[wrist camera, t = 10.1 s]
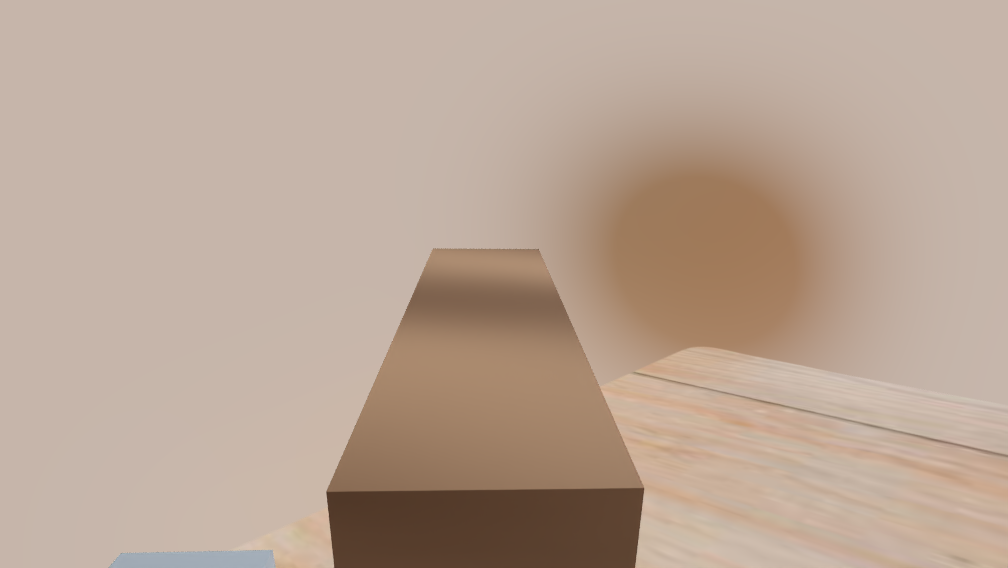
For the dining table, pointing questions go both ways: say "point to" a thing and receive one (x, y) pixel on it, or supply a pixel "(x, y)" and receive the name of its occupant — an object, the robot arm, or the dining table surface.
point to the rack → (197, 559)
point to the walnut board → (485, 434)
